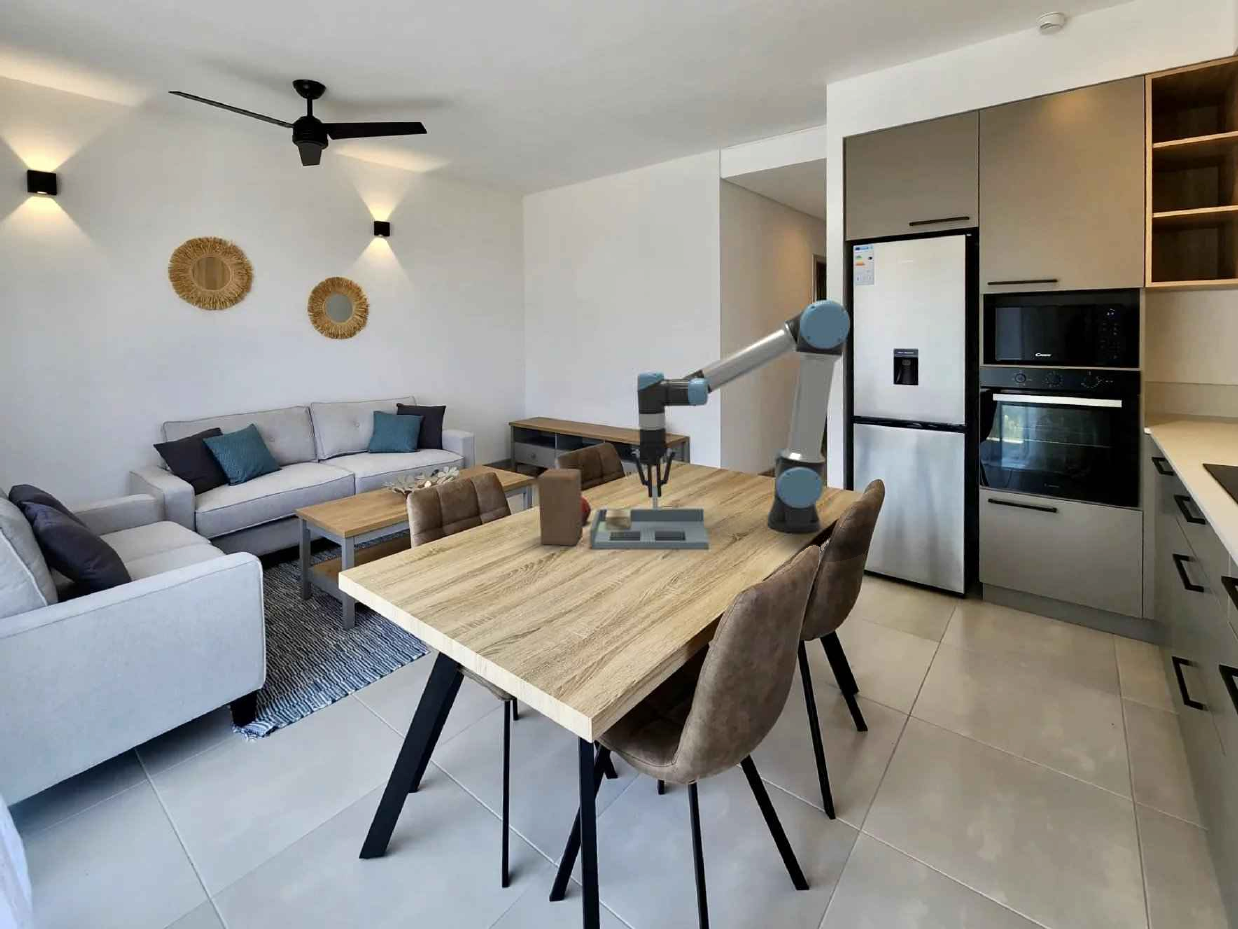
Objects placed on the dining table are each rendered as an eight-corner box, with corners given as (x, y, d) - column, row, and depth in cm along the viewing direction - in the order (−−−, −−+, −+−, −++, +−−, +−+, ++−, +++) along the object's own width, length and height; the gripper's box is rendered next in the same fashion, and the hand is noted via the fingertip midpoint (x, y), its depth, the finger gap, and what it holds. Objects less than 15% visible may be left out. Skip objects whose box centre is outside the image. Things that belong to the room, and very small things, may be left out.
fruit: (586, 517, 193) (585, 487, 191) (594, 525, 185) (593, 494, 183) (558, 520, 191) (557, 489, 189) (565, 529, 182) (564, 497, 180)
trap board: (702, 526, 182) (703, 508, 181) (708, 549, 162) (708, 529, 161) (597, 526, 184) (597, 508, 183) (590, 548, 164) (590, 529, 163)
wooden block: (574, 546, 166) (571, 476, 162) (540, 545, 168) (536, 475, 164) (583, 535, 176) (581, 468, 172) (550, 533, 178) (547, 467, 174)
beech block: (631, 522, 180) (630, 509, 179) (630, 529, 173) (629, 516, 173) (607, 522, 181) (607, 509, 180) (605, 530, 174) (605, 516, 173)
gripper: (674, 424, 173) (677, 503, 178) (629, 426, 174) (633, 505, 179) (675, 428, 166) (678, 510, 171) (628, 430, 167) (632, 512, 172)
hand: (655, 507), depth 175 cm, fingers closed
